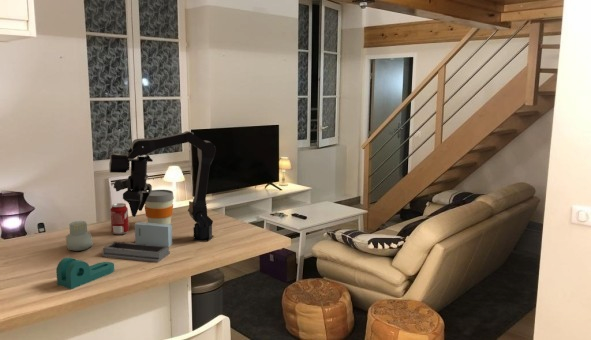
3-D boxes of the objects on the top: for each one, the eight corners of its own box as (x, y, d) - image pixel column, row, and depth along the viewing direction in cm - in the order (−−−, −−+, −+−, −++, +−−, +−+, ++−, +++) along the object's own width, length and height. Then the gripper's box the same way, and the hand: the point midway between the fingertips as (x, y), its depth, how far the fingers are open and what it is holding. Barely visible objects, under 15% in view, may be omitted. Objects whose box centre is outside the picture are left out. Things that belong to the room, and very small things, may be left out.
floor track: (169, 253, 181) (169, 245, 181) (158, 262, 172) (157, 254, 172) (116, 248, 186) (115, 240, 185) (101, 256, 177) (101, 248, 176)
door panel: (172, 244, 192) (171, 224, 190) (168, 247, 189) (168, 227, 187) (139, 241, 194) (138, 221, 193) (135, 243, 192) (134, 224, 190)
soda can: (123, 236, 200) (121, 207, 198) (108, 234, 202) (106, 206, 200) (131, 231, 207) (130, 203, 205) (117, 229, 208) (116, 202, 206)
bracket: (71, 289, 149) (69, 265, 148) (57, 285, 153) (55, 261, 151) (118, 270, 165) (117, 248, 163) (104, 266, 168) (103, 244, 167)
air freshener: (93, 251, 182) (91, 225, 180) (68, 254, 178) (67, 228, 176) (89, 242, 192) (88, 217, 190) (66, 245, 188) (64, 220, 186)
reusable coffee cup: (170, 230, 208) (169, 196, 206) (140, 230, 208) (139, 195, 206) (177, 222, 221) (176, 189, 218) (149, 221, 221) (148, 189, 218)
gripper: (123, 167, 192) (122, 206, 195) (108, 175, 174) (107, 218, 176) (152, 169, 193) (151, 208, 195) (140, 177, 175) (138, 220, 177)
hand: (137, 213), depth 186 cm, fingers open, 9 cm apart
